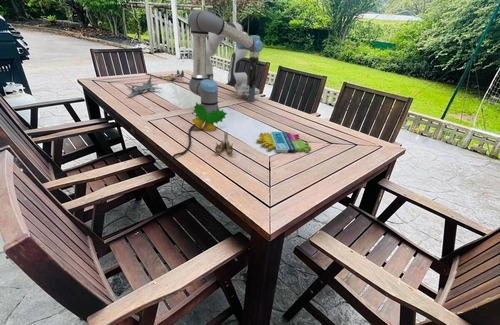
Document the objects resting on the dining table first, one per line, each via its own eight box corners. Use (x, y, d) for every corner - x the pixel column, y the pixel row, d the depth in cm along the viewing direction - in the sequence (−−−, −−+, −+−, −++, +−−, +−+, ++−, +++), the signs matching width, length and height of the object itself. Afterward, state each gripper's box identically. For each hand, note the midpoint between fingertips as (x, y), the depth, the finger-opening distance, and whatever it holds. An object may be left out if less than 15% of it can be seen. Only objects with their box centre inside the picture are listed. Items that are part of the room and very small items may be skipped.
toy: (192, 71, 287) (179, 75, 261) (192, 77, 291) (180, 82, 265) (169, 68, 292) (154, 72, 266) (169, 75, 296) (155, 79, 270)
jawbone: (234, 135, 144) (233, 125, 135) (233, 160, 138) (232, 151, 129) (217, 135, 144) (216, 125, 135) (216, 160, 138) (214, 150, 129)
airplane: (121, 87, 235) (119, 76, 230) (157, 85, 248) (156, 74, 243) (125, 100, 206) (123, 87, 201) (166, 97, 219) (165, 85, 214)
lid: (256, 84, 215) (257, 82, 214) (250, 84, 213) (250, 82, 212) (254, 82, 219) (254, 80, 218) (247, 83, 217) (247, 80, 216)
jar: (248, 102, 221) (249, 83, 213) (248, 100, 225) (249, 82, 218) (254, 102, 221) (255, 83, 214) (254, 100, 226) (255, 82, 218)
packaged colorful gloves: (313, 150, 142) (258, 149, 139) (312, 153, 143) (258, 152, 140) (301, 132, 164) (254, 130, 161) (301, 134, 165) (254, 133, 162)
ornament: (218, 133, 171) (224, 110, 169) (221, 134, 163) (227, 111, 161) (186, 125, 162) (192, 101, 160) (189, 126, 155) (195, 101, 153)
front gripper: (255, 59, 197) (253, 89, 208) (261, 56, 213) (259, 85, 224) (245, 58, 199) (244, 88, 210) (252, 55, 215) (250, 84, 226)
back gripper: (234, 87, 224) (241, 91, 214) (255, 86, 233) (262, 90, 222) (234, 94, 228) (240, 98, 217) (255, 93, 236) (262, 97, 225)
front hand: (252, 86), depth 217 cm, fingers closed on lid, 6 cm apart
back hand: (252, 94), depth 220 cm, fingers closed on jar, 5 cm apart
